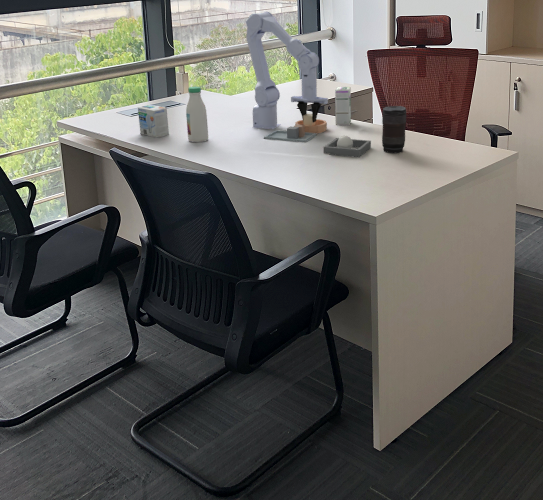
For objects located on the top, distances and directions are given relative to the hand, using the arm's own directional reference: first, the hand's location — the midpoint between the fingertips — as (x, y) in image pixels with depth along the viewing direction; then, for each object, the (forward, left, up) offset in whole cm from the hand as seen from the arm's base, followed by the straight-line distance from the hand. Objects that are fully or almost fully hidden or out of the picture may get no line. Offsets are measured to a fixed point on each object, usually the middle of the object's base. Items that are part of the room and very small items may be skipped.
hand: (309, 121), depth 263 cm
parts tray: (-3, -11, -4) cm, 12 cm away
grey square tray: (+23, -22, -4) cm, 32 cm away
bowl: (0, +1, -4) cm, 4 cm away
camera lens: (+38, -17, -4) cm, 42 cm away
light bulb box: (-58, -22, -4) cm, 62 cm away
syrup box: (+8, +16, -4) cm, 19 cm away
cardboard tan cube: (-1, -9, -4) cm, 10 cm away
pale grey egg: (+23, -22, -4) cm, 32 cm away
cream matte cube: (0, 0, -1) cm, 1 cm away
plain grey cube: (-2, -13, -4) cm, 13 cm away
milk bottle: (-36, -25, -4) cm, 44 cm away
